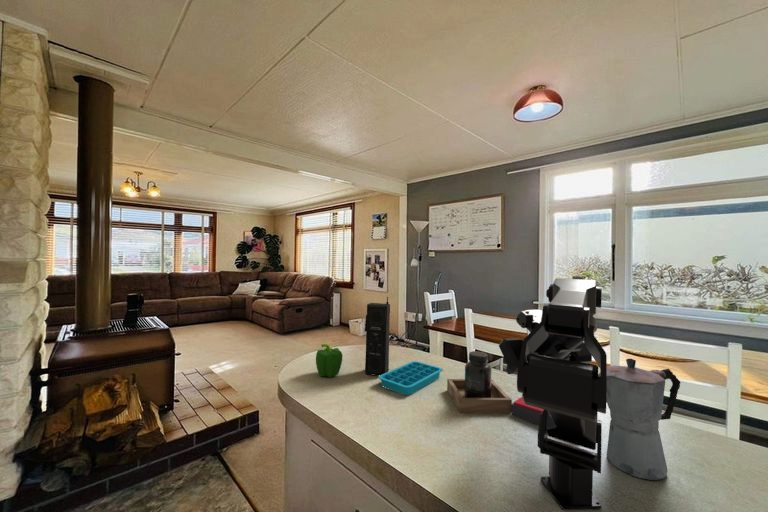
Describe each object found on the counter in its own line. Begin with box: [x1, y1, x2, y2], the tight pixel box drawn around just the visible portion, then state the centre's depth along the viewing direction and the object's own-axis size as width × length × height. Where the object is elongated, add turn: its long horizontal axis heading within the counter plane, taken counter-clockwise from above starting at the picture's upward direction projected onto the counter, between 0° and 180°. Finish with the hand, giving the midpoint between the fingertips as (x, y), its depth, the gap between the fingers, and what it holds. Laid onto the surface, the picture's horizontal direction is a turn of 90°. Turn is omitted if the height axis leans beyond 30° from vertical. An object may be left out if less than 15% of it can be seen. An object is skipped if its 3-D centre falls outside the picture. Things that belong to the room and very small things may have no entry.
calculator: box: [511, 396, 544, 427], centre depth 75 cm, size 11×4×15 cm
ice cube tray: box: [377, 360, 444, 396], centre depth 96 cm, size 12×20×3 cm, turn 141°
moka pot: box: [598, 358, 681, 481], centre depth 59 cm, size 10×15×20 cm, turn 94°
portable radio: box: [364, 296, 391, 376], centre depth 103 cm, size 8×6×25 cm
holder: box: [446, 378, 513, 414], centre depth 84 cm, size 13×13×3 cm
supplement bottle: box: [464, 350, 493, 398], centre depth 84 cm, size 7×7×12 cm
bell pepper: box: [315, 343, 343, 378], centre depth 100 cm, size 8×8×10 cm
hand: (525, 370), depth 70 cm, fingers open, 9 cm apart
